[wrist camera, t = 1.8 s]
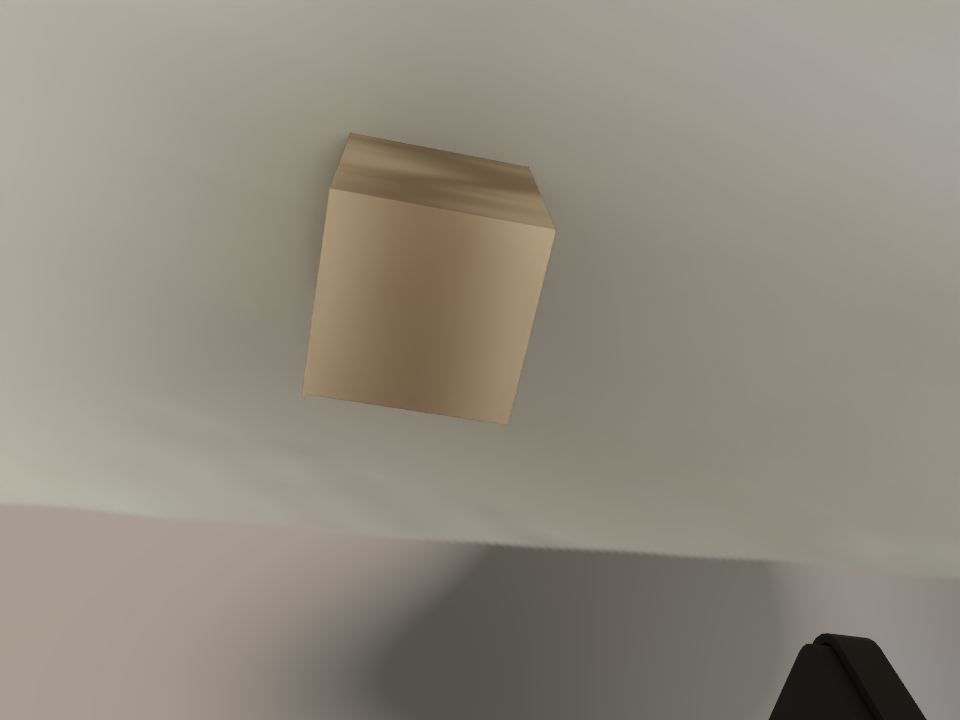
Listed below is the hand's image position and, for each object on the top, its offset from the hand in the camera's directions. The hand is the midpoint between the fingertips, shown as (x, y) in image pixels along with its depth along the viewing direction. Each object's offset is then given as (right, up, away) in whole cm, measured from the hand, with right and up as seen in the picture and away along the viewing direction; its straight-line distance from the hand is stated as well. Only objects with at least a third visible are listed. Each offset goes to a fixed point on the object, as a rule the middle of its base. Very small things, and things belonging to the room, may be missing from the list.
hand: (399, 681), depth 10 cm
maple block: (-1, +7, +16) cm, 17 cm away
